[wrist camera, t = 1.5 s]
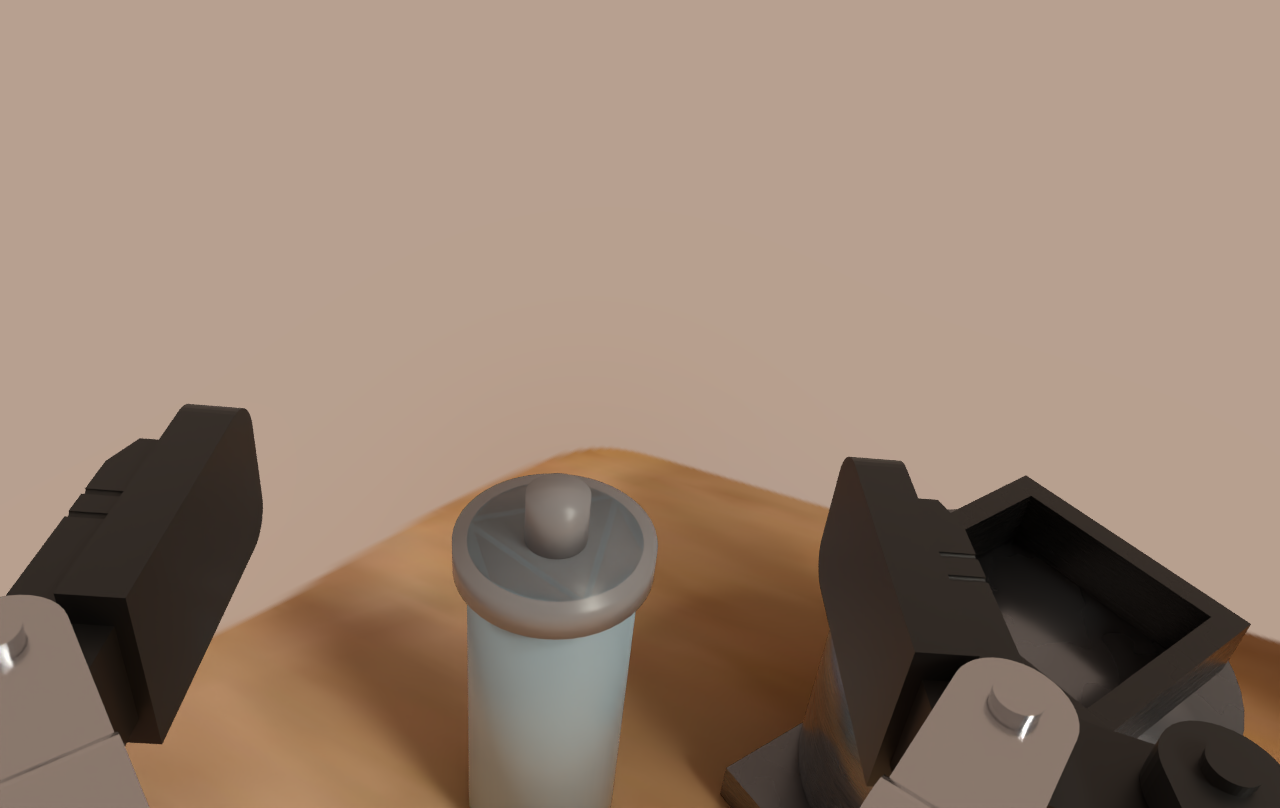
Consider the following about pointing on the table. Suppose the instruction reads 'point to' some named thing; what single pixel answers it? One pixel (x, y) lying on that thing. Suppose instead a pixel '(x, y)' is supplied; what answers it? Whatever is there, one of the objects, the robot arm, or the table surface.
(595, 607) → the grey lidded canister
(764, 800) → the dark grey holder
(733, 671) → the table surface
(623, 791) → the table surface
